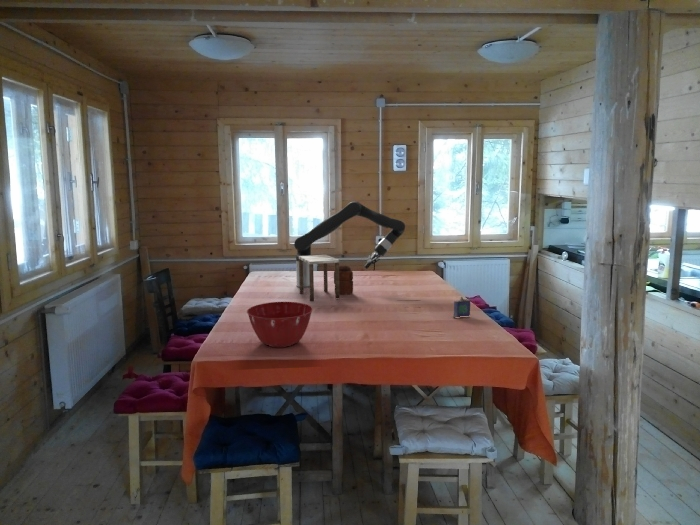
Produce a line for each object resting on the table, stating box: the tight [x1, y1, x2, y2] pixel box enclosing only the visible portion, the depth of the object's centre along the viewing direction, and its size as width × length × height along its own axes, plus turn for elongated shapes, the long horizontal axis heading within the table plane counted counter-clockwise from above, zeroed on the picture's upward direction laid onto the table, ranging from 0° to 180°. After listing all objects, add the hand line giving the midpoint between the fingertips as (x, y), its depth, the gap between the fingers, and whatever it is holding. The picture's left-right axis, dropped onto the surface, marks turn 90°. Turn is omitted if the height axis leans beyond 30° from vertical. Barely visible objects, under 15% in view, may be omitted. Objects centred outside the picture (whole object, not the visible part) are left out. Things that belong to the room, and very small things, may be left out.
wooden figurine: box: [333, 264, 354, 295], centre depth 340 cm, size 12×6×18 cm, turn 93°
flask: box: [453, 296, 471, 318], centre depth 282 cm, size 9×3×11 cm, turn 109°
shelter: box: [299, 254, 340, 302], centre depth 334 cm, size 24×18×24 cm
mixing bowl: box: [246, 301, 313, 348], centre depth 241 cm, size 28×28×15 cm
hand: (365, 267), depth 344 cm, fingers closed
